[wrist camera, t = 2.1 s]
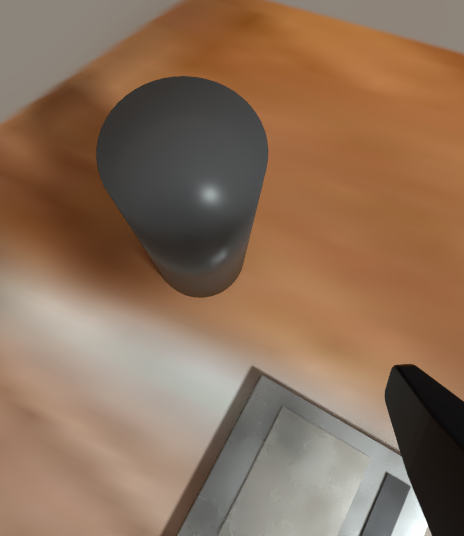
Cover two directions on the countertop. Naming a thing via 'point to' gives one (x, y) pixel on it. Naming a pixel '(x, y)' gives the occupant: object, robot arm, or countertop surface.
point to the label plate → (302, 477)
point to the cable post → (186, 177)
